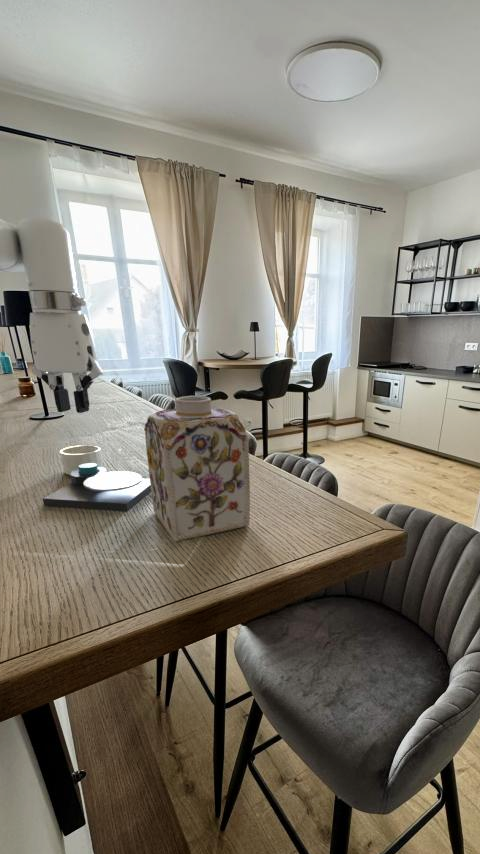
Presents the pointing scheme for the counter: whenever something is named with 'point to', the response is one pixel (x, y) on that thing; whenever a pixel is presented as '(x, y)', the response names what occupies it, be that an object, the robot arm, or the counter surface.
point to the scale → (96, 495)
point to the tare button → (88, 469)
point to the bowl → (80, 457)
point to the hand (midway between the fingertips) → (73, 410)
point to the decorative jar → (198, 468)
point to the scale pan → (112, 481)
